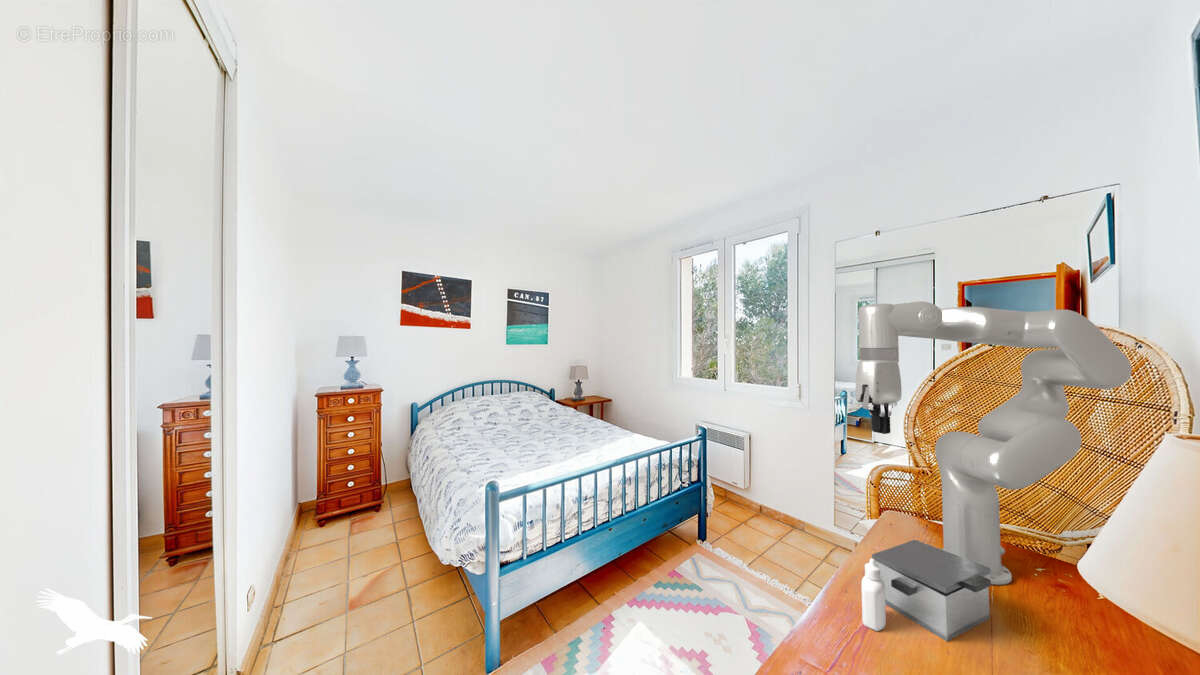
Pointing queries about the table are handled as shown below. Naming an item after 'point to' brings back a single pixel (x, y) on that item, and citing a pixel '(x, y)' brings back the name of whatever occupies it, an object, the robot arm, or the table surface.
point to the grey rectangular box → (934, 604)
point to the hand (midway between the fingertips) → (881, 432)
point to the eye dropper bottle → (873, 597)
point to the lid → (935, 567)
